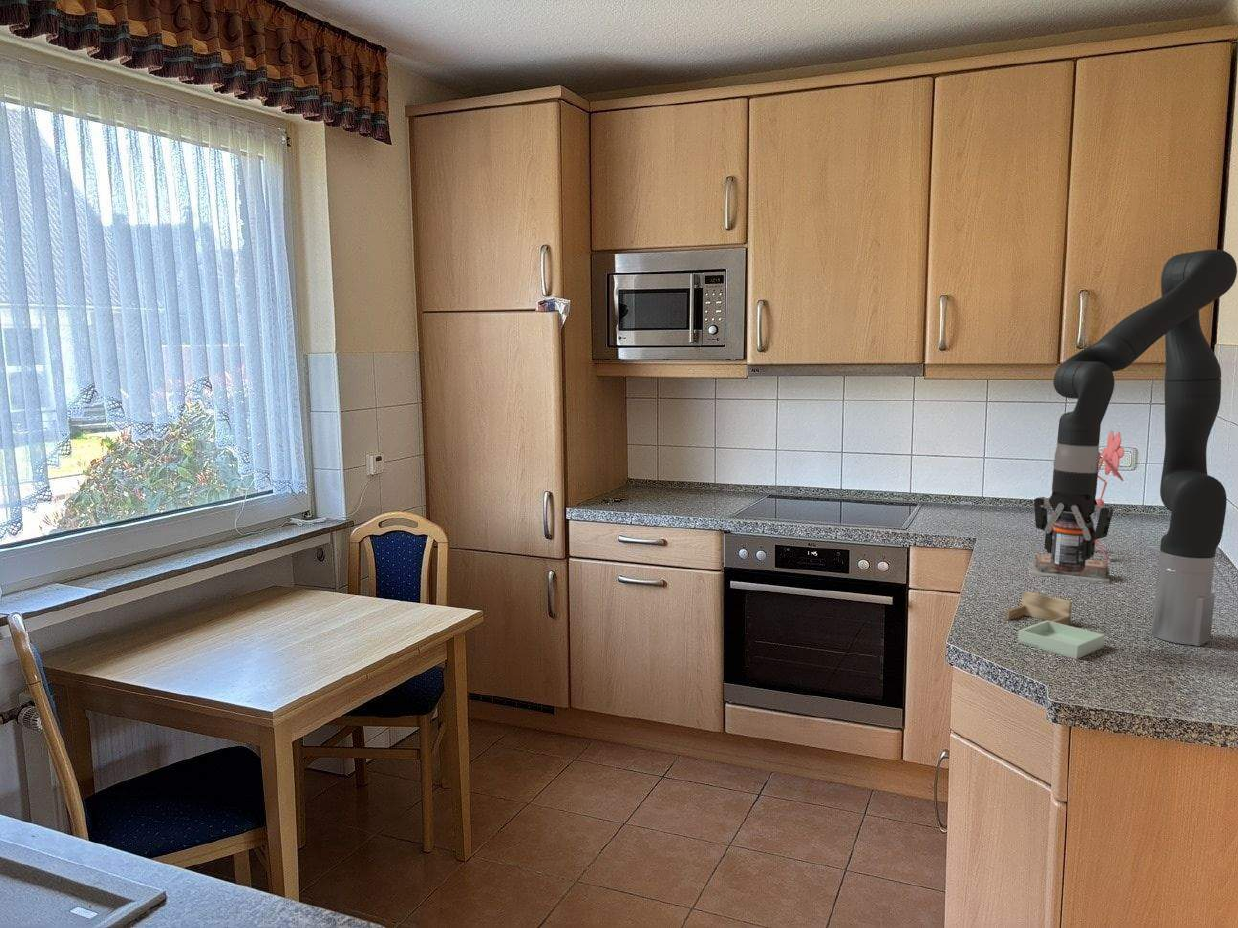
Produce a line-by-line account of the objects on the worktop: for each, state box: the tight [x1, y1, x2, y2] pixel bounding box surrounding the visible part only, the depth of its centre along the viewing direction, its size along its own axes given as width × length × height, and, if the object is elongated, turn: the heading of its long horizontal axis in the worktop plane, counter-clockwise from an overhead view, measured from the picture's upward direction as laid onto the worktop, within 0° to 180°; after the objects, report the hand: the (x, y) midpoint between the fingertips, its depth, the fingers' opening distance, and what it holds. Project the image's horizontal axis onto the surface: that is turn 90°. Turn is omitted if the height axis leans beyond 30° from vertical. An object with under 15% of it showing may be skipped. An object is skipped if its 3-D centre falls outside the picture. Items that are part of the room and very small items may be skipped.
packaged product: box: [1028, 553, 1111, 584], centre depth 229 cm, size 18×5×10 cm
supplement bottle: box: [1050, 511, 1086, 572], centre depth 172 cm, size 6×6×11 cm
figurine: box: [1095, 430, 1125, 562], centre depth 248 cm, size 15×26×35 cm, turn 170°
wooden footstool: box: [1004, 590, 1072, 626], centre depth 188 cm, size 10×8×5 cm
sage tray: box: [1017, 620, 1106, 660], centre depth 174 cm, size 11×11×2 cm
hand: (1068, 555), depth 172 cm, fingers closed on supplement bottle, 6 cm apart
